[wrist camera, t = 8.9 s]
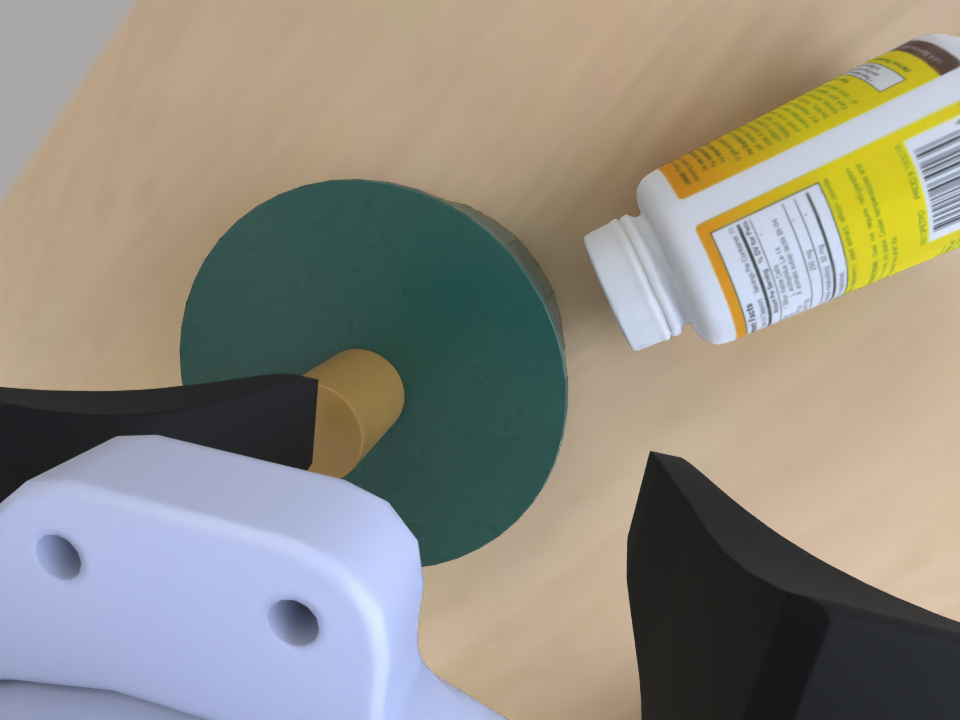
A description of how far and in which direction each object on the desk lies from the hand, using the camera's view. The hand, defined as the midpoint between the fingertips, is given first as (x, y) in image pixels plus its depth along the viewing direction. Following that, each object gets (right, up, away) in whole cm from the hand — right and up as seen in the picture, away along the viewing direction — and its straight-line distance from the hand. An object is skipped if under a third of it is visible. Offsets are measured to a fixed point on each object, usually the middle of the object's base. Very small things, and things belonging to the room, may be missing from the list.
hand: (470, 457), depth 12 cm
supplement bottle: (+13, +8, +3) cm, 16 cm away
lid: (-3, +1, +5) cm, 6 cm away
